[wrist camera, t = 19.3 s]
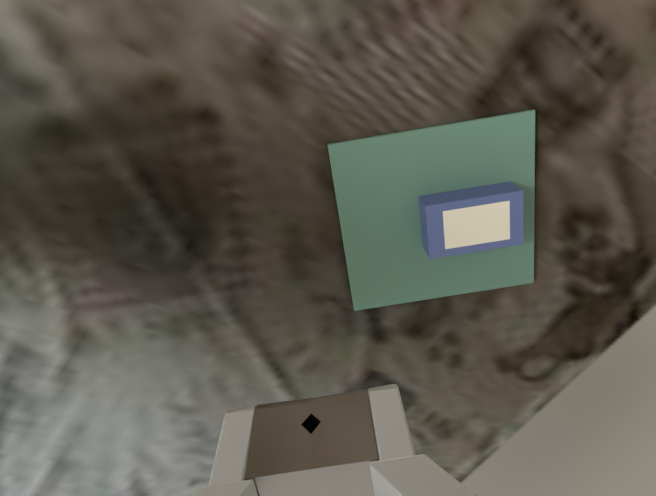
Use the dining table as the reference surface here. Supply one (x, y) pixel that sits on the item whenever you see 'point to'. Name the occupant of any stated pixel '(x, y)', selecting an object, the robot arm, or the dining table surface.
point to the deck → (471, 219)
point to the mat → (404, 213)
